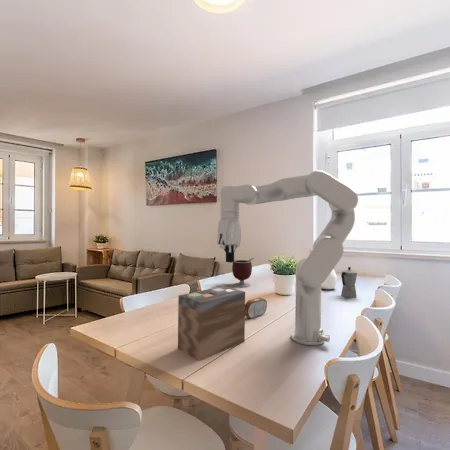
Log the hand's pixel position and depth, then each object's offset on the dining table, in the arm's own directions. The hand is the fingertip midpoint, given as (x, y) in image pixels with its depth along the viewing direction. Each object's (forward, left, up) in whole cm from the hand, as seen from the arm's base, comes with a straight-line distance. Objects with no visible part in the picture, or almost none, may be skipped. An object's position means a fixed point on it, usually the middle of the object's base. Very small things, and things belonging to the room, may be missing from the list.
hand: (230, 262), depth 118 cm
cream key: (-4, +4, -13) cm, 14 cm away
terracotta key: (-4, +15, -13) cm, 20 cm away
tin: (+6, -24, -29) cm, 39 cm away
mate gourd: (+55, -69, -29) cm, 93 cm away
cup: (+11, -106, -29) cm, 111 cm away
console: (-4, +13, -29) cm, 32 cm away
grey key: (-4, +10, -11) cm, 16 cm away
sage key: (-4, +21, -11) cm, 24 cm away
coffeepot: (-8, -96, -29) cm, 101 cm away
